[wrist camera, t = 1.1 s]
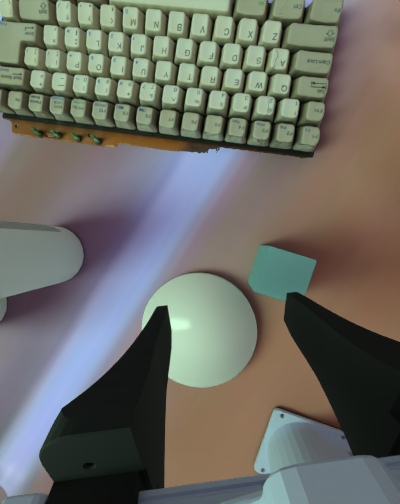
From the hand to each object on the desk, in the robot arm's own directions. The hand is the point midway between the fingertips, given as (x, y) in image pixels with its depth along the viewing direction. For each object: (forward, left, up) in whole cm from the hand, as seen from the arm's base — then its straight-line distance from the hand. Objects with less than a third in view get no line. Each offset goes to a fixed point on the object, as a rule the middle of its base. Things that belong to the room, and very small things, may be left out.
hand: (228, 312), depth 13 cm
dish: (+1, +6, -12) cm, 14 cm away
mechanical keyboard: (+14, -21, -13) cm, 28 cm away
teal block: (-5, -3, -12) cm, 13 cm away
